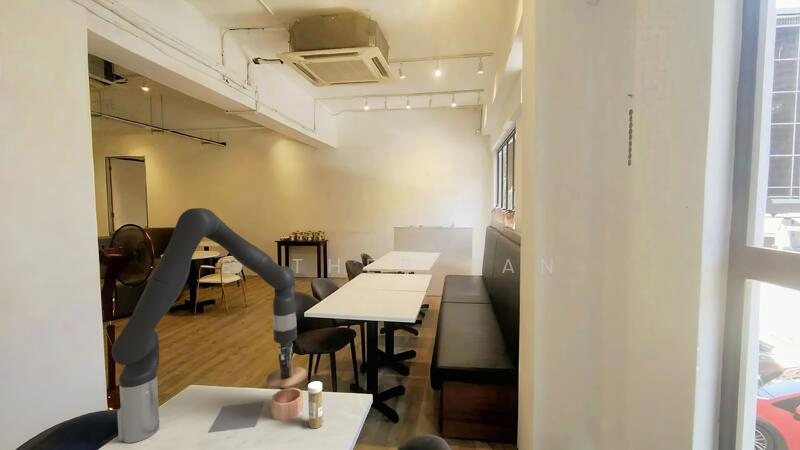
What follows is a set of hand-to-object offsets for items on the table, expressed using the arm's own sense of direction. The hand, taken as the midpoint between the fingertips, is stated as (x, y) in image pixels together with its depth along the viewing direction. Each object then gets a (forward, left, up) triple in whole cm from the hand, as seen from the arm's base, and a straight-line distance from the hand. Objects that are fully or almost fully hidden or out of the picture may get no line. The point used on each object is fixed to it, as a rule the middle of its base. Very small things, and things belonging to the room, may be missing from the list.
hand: (286, 374), depth 112 cm
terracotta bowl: (0, 0, -13) cm, 13 cm away
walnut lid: (0, 0, -1) cm, 1 cm away
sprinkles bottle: (+10, -9, -13) cm, 19 cm away
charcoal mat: (-16, 0, -13) cm, 21 cm away
